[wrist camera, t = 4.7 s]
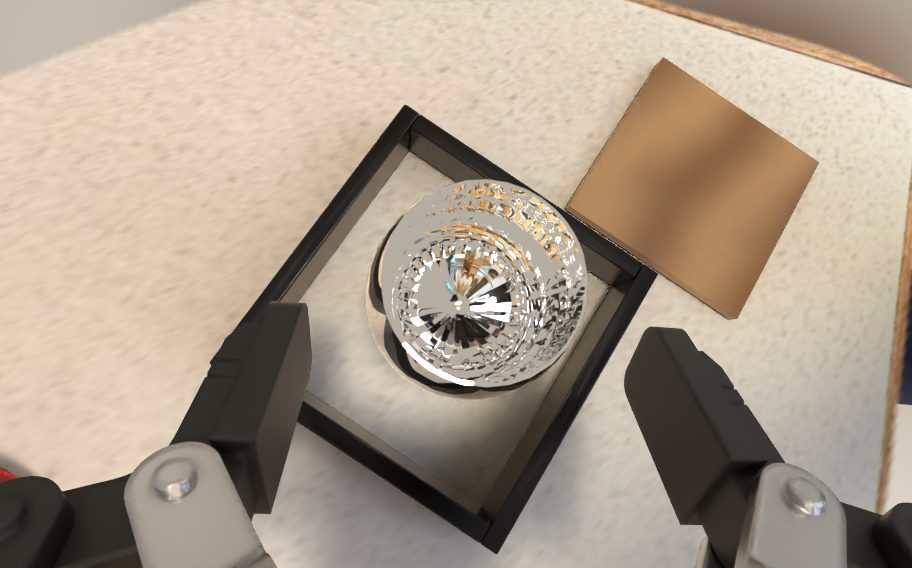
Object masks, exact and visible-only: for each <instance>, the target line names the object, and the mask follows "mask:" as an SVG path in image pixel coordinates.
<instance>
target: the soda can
mask: <svg viewBox="0 0 912 568" xmlns="http://www.w3.org/2000/svg"><path fill="white" fill-rule="evenodd" d="M15 478H17V477H15V476H14V475H12V474H11V473H10V472H8V471H7V470H5V469H3V468H1V467H0V483H2V482H5V481H8V480H11V479H15Z"/></svg>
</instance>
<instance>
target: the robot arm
mask: <svg viewBox="0 0 912 568" xmlns="http://www.w3.org/2000/svg"><path fill="white" fill-rule="evenodd" d="M311 360H312V351H311V339H310V328H309V317H308V308H307V305H306V303H294V302H278V301H271V302H270V303H269V305H268V307H267V309H266V311H265V313H264V316H263V318H262V320H261V322H260V324H259V323H243V324H242V325H241V326H239V327H238V328H237V329H236V330H235V331H234V332H232V333H231V334H230V335H229V336H228V337H227V338H225V340H224V342H223V344H222V346H221V348H220V350H219V352H218V354H217V356H216V360H215V361H213V363H212V365H211V367H210V369H209V371H208V375H207V377H205V379H204V381H203V383H202V385H201V386H200V388H199V390H198V392H197V394H196V396H195V398H194V400H193V402H192V404H191V406H190V408H189V410H188V412H187V413H186V415H185V417H184V419H183V421H182V423H181V425H180V427H179V429H178V431H177V433H176V435H175V437H174V438H173V440H172V441H171V443H170V444H169V446H167V447H165V448H162V449H160V450H158V451H157V452H155V453H153V454H152V455H150V456H149V457H147V458H146V459H145V460H144V461H143V462H141V463H140V464H139V466H138V467H137V468H136V469H135V470H134V471H133V473H131V474H128V475H126V476H123V477H120V478H116V479H113V480H108V481H104V482H100V483H96V484H92V485H88V486H84V487H80V488H76V489H71V490H67V491H63V492H62V491H61V489H60V488H59V487H58V485H57V484H56V483H55V482H53V481H52V480H50V479H48V478H44V477H38V476H28V477H20V478H15V479H11V480H8V481H5V482H2V483H0V568H277V567H276V565H275V563H274V561H273V560H272V558H271V556H270V555H269V554H267V553H266V551H265V550H264V548H263V546H262V544H261V542H260V540H259V538H258V536H257V533H256V531H255V529H254V527H253V525H252V523H251V521H252V518H253V515H254V514H271V511H272V507H273V504H274V500H275V497H276V493H277V490H278V486H279V483H280V479H281V475H282V472H283V468H284V465H285V461H286V458H287V454H288V451H289V447H290V444H291V440H292V437H293V433H294V430H295V426H296V422H297V419H298V415H299V412H300V408H301V405H302V401H303V398H304V394H305V391H306V387H307V384H308V380H309V376H310V370H311ZM624 388H625V393H626V396H627V399H628V401H629V403H630V406H631V408H632V411H633V413H634V415H635V418H636V420H637V423H638V425H639V427H640V430H641V432H642V434H643V437H644V439H645V442H646V444H647V446H648V449H649V451H650V453H651V456H652V458H653V461H654V463H655V465H656V468H657V470H658V473H659V475H660V477H661V480H662V482H663V484H664V487H665V489H666V492H667V494H668V496H669V499H670V501H671V503H672V506H673V508H674V511H675V513H676V515H677V518H678V520H679V522H680V525H703V528H704V530H705V532H706V534H707V535H706V536H705V538H704V539H703V540H702V542H701V545H700V549H699V553H698V557H697V561H696V565H695V568H912V503H900V504H897V505H896V506H894V507H893V508H892V509H891V510H889V511H888V512H887V513H886V514H884V515H880V514H877V513H873V512H870V511H867V510H864V509H861V508H858V507H855V506H852V505H849V504H846V503H842V502H840V501H839V500H838V498H837V497H836V495H835V494H834V493H833V492H832V491H831V490H830V489H829V488H828V487H827V486H826V485H825V484H824V483H823V482H822V481H821V480H819V479H818V478H817V477H815V476H814V475H812V474H811V473H809V472H807V471H806V470H804V469H801V468H799V467H797V466H794V465H791V464H786V463H785V461H784V460H783V459H782V457H781V456H780V454H779V453H778V451H777V450H776V448H775V447H774V445H773V444H772V442H771V441H770V439H769V438H768V436H767V435H766V433H765V432H764V430H763V429H762V427H761V426H760V424H759V423H758V421H757V420H756V418H755V417H754V415H753V414H752V412H751V411H750V409H749V408H748V406H747V405H744V400H743V399H742V397H741V396H740V394H739V393H738V391H737V390H734V385H733V384H732V382H731V381H730V379H729V378H728V376H727V375H726V373H725V372H724V370H723V369H722V368H721V367H720V366H719V365H718V364H717V363H716V362H715V361H713V360H712V359H711V358H710V357H709V356H708V355H707V354H705V353H704V352H703V351H698V350H697V348H696V347H695V345H694V344H693V342H692V340H691V339H690V337H689V336H688V334H687V333H686V332H685V331H684V330H683V329H678V328H663V327H649V328H647V329H646V330H645V332H644V333H643V335H642V337H641V340H640V342H639V344H638V346H637V348H636V350H635V352H634V355H633V357H632V359H631V361H630V363H629V365H628V367H627V370H626V373H625V377H624Z"/></svg>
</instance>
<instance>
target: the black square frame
mask: <svg viewBox="0 0 912 568" xmlns="http://www.w3.org/2000/svg"><path fill="white" fill-rule="evenodd" d="M409 150H410V151H411V152H413V153H414V154H416V155H417V156H419V157H420V158H422V159H423V160H425V161H426V162H428V163H429V164H431V165H432V166H434V167H435V168H437V169H438V170H440V171H441V172H443V173H444V174H445V175H447V176H448V177H450V178H451V179H453V180H454V181H456V182H457V183H458V182H462V181H465V180H483V179H488V180H495V181H502V182H508V183H511V184H513V185H516V186H519V187H522V188H525V189H527V190H529V191H531V192H532V193H534V194H536V195H538V196H539V197H541V198H543V199H544V200H545V201H546V202H547V203H549V204H550V205H551V206H552V207H554V208H555V209H556V210H557V211H558V212H559V213H560V215H561V216H562V217H563V218H564V219H565V220H566V221H567V223H568V224H569V226H570V227H571V229H572V230H573V232H574V234H575V236H576V237H577V239H578V241H579V243H580V246H581V249H582V251H583V254H584V259H585V264H586V269H587V270H589V271H590V272H592V273H593V274H595V275H596V276H598V277H599V278H601V279H602V280H604V281H605V282H607V283H608V284H610V285H612V286H611V288H610V290H609V292H608V293H607V295H606V297H605V298H604V300H603V302H602V303H601V305H600V307H599V308H598V310H597V312H596V313H595V315H594V317H593V319H592V320H591V322H590V324H589V325H588V327H587V329H586V330H585V332H584V334H583V335H582V337H581V339H580V340H579V342H578V344H577V346H576V347H575V349H574V351H573V352H572V354H571V356H570V357H569V359H568V361H567V362H566V364H565V366H564V367H563V369H562V371H561V373H560V374H559V376H558V378H557V379H556V381H555V383H554V384H553V386H552V388H551V389H550V391H549V393H548V394H547V396H546V398H545V400H544V401H543V403H542V405H541V406H540V408H539V410H538V411H537V413H536V415H535V416H534V418H533V420H532V421H531V423H530V425H529V427H528V428H527V430H526V432H525V433H524V435H523V437H522V438H521V440H520V442H519V443H518V445H517V447H516V448H515V450H514V452H513V454H512V455H511V457H510V459H509V460H508V462H507V464H506V465H505V467H504V469H503V470H502V472H501V474H500V475H499V477H498V479H497V481H496V482H495V484H494V486H493V487H492V489H491V491H490V492H489V494H488V496H487V497H486V499H485V501H484V503H483V504H482V506H480V505H478V504H477V503H475V502H474V501H472V500H471V499H469V498H468V497H466V496H465V495H463V494H462V493H460V492H459V491H457V490H456V489H454V488H453V487H451V486H450V485H448V484H447V483H445V482H444V481H442V480H441V479H439V478H438V477H436V476H435V475H433V474H432V473H430V472H429V471H427V470H426V469H424V468H423V467H421V466H420V465H418V464H417V463H415V462H414V461H412V460H411V459H409V458H408V457H406V456H405V455H403V454H402V453H400V452H399V451H397V450H396V449H394V448H393V447H391V446H390V445H388V444H387V443H385V442H384V441H382V440H381V439H379V438H378V437H376V436H375V435H373V434H372V433H370V432H369V431H367V430H366V429H364V428H363V427H361V426H360V425H358V424H357V423H355V422H354V421H352V420H351V419H349V418H348V417H346V416H345V415H343V414H342V413H340V412H339V411H337V410H336V409H334V408H333V407H331V406H330V405H328V404H327V403H325V402H324V401H322V400H321V399H319V398H318V397H316V396H315V395H313V394H312V393H310V392H309V391H307V390H306V391H305V394H304V398H303V401H302V405H301V408H300V412H299V415H298V419H297V422H298V423H300V424H301V425H303V426H304V427H306V428H307V429H309V430H310V431H312V432H313V433H315V434H316V435H318V436H319V437H321V438H322V439H324V440H325V441H327V442H328V443H330V444H331V445H333V446H334V447H336V448H337V449H339V450H340V451H342V452H343V453H345V454H346V455H348V456H349V457H351V458H352V459H354V460H355V461H357V462H358V463H360V464H361V465H363V466H364V467H366V468H367V469H369V470H370V471H372V472H373V473H375V474H376V475H378V476H379V477H381V478H382V479H384V480H385V481H387V482H388V483H390V484H391V485H393V486H394V487H396V488H397V489H399V490H400V491H402V492H403V493H405V494H406V495H408V496H409V497H411V498H412V499H414V500H415V501H417V502H418V503H420V504H421V505H423V506H424V507H426V508H427V509H429V510H430V511H432V512H433V513H435V514H436V515H438V516H439V517H441V518H442V519H444V520H445V521H447V522H448V523H450V524H451V525H453V526H454V527H456V528H457V529H459V530H460V531H462V532H463V533H465V534H466V535H468V536H469V537H471V538H472V539H474V540H475V541H477V542H479V543H481V545H483V546H484V547H486V548H487V549H489V550H490V551H492V552H493V553H495V554H498V552H499V550H500V549H501V547H502V545H503V543H504V542H505V540H506V538H507V536H508V535H509V533H510V531H511V529H512V528H513V526H514V524H515V522H516V521H517V519H518V517H519V515H520V514H521V512H522V510H523V508H524V507H525V505H526V503H527V501H528V500H529V498H530V496H531V494H532V493H533V491H534V489H535V488H536V486H537V484H538V482H539V481H540V479H541V477H542V475H543V474H544V472H545V470H546V468H547V467H548V465H549V463H550V461H551V460H552V458H553V456H554V454H555V453H556V451H557V449H558V447H559V446H560V444H561V442H562V440H563V439H564V437H565V435H566V433H567V432H568V430H569V428H570V427H571V425H572V423H573V421H574V420H575V418H576V416H577V414H578V413H579V411H580V409H581V407H582V406H583V404H584V402H585V400H586V399H587V397H588V395H589V393H590V392H591V390H592V388H593V386H594V385H595V383H596V381H597V379H598V378H599V376H600V374H601V372H602V371H603V369H604V367H605V366H606V364H607V362H608V360H609V359H610V357H611V355H612V353H613V352H614V350H615V348H616V346H617V345H618V343H619V341H620V339H621V338H622V336H623V334H624V332H625V331H626V329H627V327H628V325H629V324H630V322H631V320H632V318H633V317H634V315H635V313H636V312H637V310H638V308H639V306H640V305H641V303H642V301H643V299H644V298H645V296H646V294H647V292H648V291H649V289H650V287H651V285H652V284H653V282H654V280H655V278H656V277H657V275H658V273H656V272H655V271H653V270H652V269H650V268H649V267H647V266H646V265H644V264H643V265H642V263H641V262H639V261H638V260H636V259H635V258H633V257H632V256H630V255H629V254H627V253H626V252H624V251H623V250H621V249H620V248H618V247H617V246H615V245H614V244H613V243H611V242H610V241H608V240H607V239H605V238H604V237H602V236H601V235H599V234H598V233H596V232H595V231H593V230H592V229H590V228H589V227H587V226H586V225H584V224H583V223H581V222H580V221H578V220H577V219H575V218H574V217H572V216H571V215H569V214H568V213H566V212H565V211H563V210H562V209H560V208H559V207H557V206H556V205H554V204H553V203H551V202H550V201H548V200H547V199H545V198H544V197H542V196H541V195H540V194H538V193H537V192H535V191H534V190H532V189H531V188H529V187H528V186H526V185H525V184H523V183H522V182H520V181H519V180H517V179H516V178H514V177H513V176H511V175H510V174H508V173H507V172H505V171H504V170H502V169H501V168H499V167H498V166H496V165H495V164H493V163H492V162H490V161H489V160H487V159H486V158H484V157H483V156H481V155H480V154H478V153H477V152H475V151H474V150H472V149H471V148H469V147H468V146H467V145H465V144H464V143H462V142H461V141H459V140H458V139H456V138H455V137H453V136H452V135H450V134H449V133H447V132H446V131H444V130H443V129H441V128H440V127H438V126H437V125H435V124H434V123H432V122H431V121H429V120H428V119H426V118H425V117H423V116H422V115H419V113H417V112H416V111H415V110H413V109H412V108H410V107H409V106H407V105H404V106H403V107H402V109H401V110H400V111H399V113H398V114H397V115H396V117H395V118H394V119H393V120H392V122H391V123H390V124H389V126H388V127H387V128H386V130H385V131H384V132H383V134H382V135H381V136H380V138H379V139H378V140H377V142H376V143H375V144H374V146H373V147H372V148H371V150H370V151H369V152H368V154H367V155H366V156H365V158H364V159H363V160H362V161H361V163H360V164H359V165H358V167H357V168H356V169H355V171H354V172H353V173H352V175H351V176H350V177H349V179H348V180H347V181H346V183H345V184H344V185H343V187H342V188H341V189H340V191H339V192H338V193H337V195H336V196H335V197H334V199H333V200H332V201H331V202H330V204H329V205H328V206H327V208H326V209H325V210H324V212H323V213H322V214H321V216H320V217H319V218H318V220H317V221H316V222H315V224H314V225H313V226H312V228H311V229H310V230H309V232H308V233H307V234H306V236H305V237H304V238H303V240H302V241H301V242H300V243H299V245H298V246H297V247H296V249H295V250H294V251H293V253H292V254H291V255H290V257H289V258H288V259H287V261H286V262H285V263H284V265H283V266H282V267H281V269H280V270H279V271H278V273H277V274H276V275H275V277H274V278H273V279H272V281H271V282H270V283H269V284H268V286H267V287H266V288H265V290H264V291H263V292H262V294H261V295H260V296H259V298H258V299H257V300H256V302H255V303H254V304H253V306H252V307H251V308H250V310H249V311H248V312H247V314H246V315H245V316H244V318H243V319H242V320H241V322H240V323H239V324H238V325H237V327H236V328H235V329H234V331H235V330H236V329H237V328H238V327H239V326H241V325H242V324H243V323H259V324H260V322H261V320H262V318H263V316H264V313H265V311H266V309H267V307H268V305H269V303H270V302H271V301H278V302H294V303H297V302H298V301H299V299H300V298H301V297H302V295H303V294H304V292H305V291H306V290H307V288H308V287H309V286H310V284H311V283H312V282H313V280H314V279H315V278H316V276H317V275H318V273H319V272H320V271H321V269H322V268H323V267H324V265H325V264H326V263H327V261H328V260H329V258H330V257H331V256H332V254H333V253H334V252H335V250H336V249H337V248H338V246H339V245H340V244H341V242H342V241H343V239H344V238H345V237H346V235H347V234H348V233H349V231H350V230H351V229H352V227H353V226H354V225H355V223H356V222H357V220H358V219H359V218H360V216H361V215H362V214H363V212H364V211H365V210H366V208H367V207H368V206H369V204H370V203H371V201H372V200H373V199H374V197H375V196H376V195H377V193H378V192H379V191H380V189H381V188H382V187H383V185H384V184H385V182H386V181H387V180H388V178H389V177H390V176H391V174H392V173H393V172H394V170H395V169H396V168H397V166H398V165H399V163H400V162H401V161H402V159H403V158H404V157H405V155H406V154H407V153H408V151H409ZM234 331H233V332H234ZM219 350H220V349H219ZM218 352H219V351H218ZM218 352H217V353H216V355H215V356H214V357H213V359H212V360H211V361H210V364H211V365H212V363H213V361H215V360H216V356H217V354H218Z"/></svg>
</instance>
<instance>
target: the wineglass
mask: <svg viewBox="0 0 912 568" xmlns="http://www.w3.org/2000/svg"><path fill="white" fill-rule="evenodd" d="M587 295H588V275H587V269H586V264H585V259H584V254H583V251H582V249H581V246H580V243H579V241H578V239H577V237H576V236H575V234H574V232H573V230H572V229H571V227H570V226H569V224H568V223H567V221H566V220H565V219H564V218H563V217H562V216H561V215H560V213H559V212H558V211H557V210H556V209H555V208H554V207H552V206H551V205H550V204H549V203H547V202H546V201H545V200H544V199H543V198H541V197H539V196H538V195H536V194H534V193H532V192H531V191H529V190H527V189H525V188H522V187H519V186H516V185H513V184H511V183H508V182H502V181H495V180H488V179H483V180H465V181H462V182H458V183H454V184H451V185H447V186H444V187H442V188H440V189H438V190H436V191H434V192H432V193H430V194H428V195H426V196H424V197H423V198H422V199H420V200H419V201H418V202H416V203H415V204H414V205H412V206H411V207H410V208H408V209H407V210H406V211H405V212H403V213H402V214H401V216H400V217H399V218H398V219H397V220H396V221H395V222H394V223H393V224H392V225H391V227H390V228H389V230H388V231H387V233H386V234H385V236H384V237H383V238H382V240H381V242H380V244H379V246H378V248H377V250H376V252H375V254H374V256H373V259H372V262H371V265H370V269H369V272H368V276H367V287H366V298H365V302H366V309H367V316H368V323H369V326H370V329H371V332H372V335H373V338H374V340H375V342H376V344H377V346H378V348H379V350H380V351H381V353H382V355H383V356H384V357H385V359H386V360H387V361H388V363H389V364H390V365H391V366H392V367H393V368H394V369H395V370H396V371H397V372H398V373H399V374H400V375H401V376H402V377H403V378H404V379H406V380H407V381H409V382H410V383H411V384H413V385H414V386H416V387H418V388H419V389H421V390H424V391H426V392H428V393H431V394H433V395H435V396H438V397H443V398H448V399H452V400H457V401H481V400H486V399H491V398H496V397H501V396H504V395H507V394H509V393H512V392H514V391H516V390H519V389H521V388H523V387H525V386H526V385H528V384H529V383H531V382H532V381H534V380H536V379H537V378H539V377H540V376H542V375H543V374H544V373H545V372H546V371H547V370H548V369H549V368H550V367H551V366H552V365H554V364H555V363H556V362H557V361H558V359H559V358H560V357H561V356H562V354H563V353H564V352H565V350H566V349H567V348H568V347H569V345H570V344H571V342H572V340H573V339H574V337H575V335H576V333H577V331H578V329H579V328H580V326H581V322H582V319H583V316H584V312H585V309H586V305H587Z"/></svg>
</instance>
